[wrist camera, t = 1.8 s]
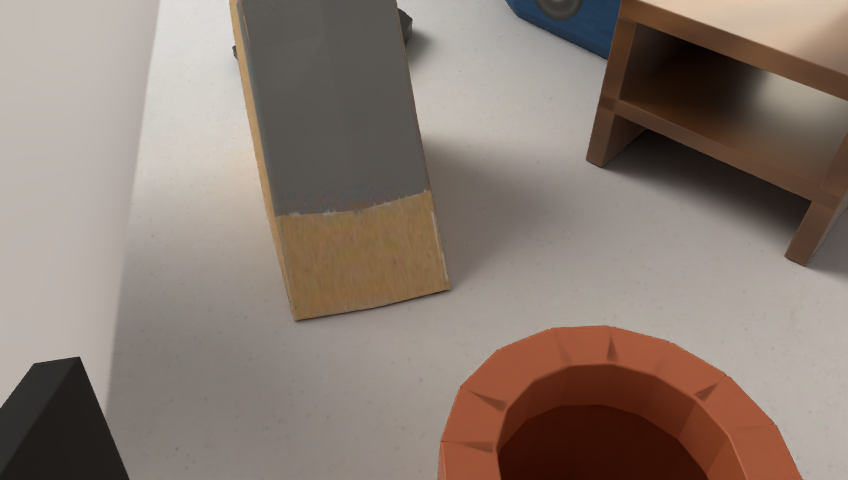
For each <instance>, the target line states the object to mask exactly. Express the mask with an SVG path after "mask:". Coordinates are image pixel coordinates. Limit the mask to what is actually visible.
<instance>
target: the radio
mask: <svg viewBox="0 0 848 480" xmlns="http://www.w3.org/2000/svg"><path fill="white" fill-rule="evenodd" d="M505 1H506V2H507V3H508V5H509V6H510V7H511V9H512V10H513V11H514V12H515V14H516V15H517V16H518V17H520V18H522V19H524V20H526V21H528V22H530V23H532V24H534V25H536V26H538V27H541V28H543V29H545V30H547V31H549V32H551V33H553V34H555V35H557V36H559V37H561V38H563V39H566V40H568V41H570V42H572V43H574V44H576V45H578V46H580V47H582V48H584V49H586V50H588V51H590V52H593V53H595V54H597V55H599V56H601V57H603V58H605V59H607V60H608V58H609V53H610V49H611V44H612V40H613V36H614V31H615V27H616V22H617V18H618V13H619V9H620V4H621V0H505Z"/></svg>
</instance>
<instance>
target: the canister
mask: <svg viewBox="0 0 848 480" xmlns="http://www.w3.org/2000/svg"><path fill="white" fill-rule="evenodd" d="M437 480H802V478H801V476H800V473H799V471H798V469H797V467H796V465H795V463H794V461H793V459H792V457H791V455H790V453H789V450H788V448H787V446H786V444H785V442H784V440H783V438H782V436H781V434H780V432H779V430H778V427H777V426H776V425H774V422H773V421H772V420H771V419H770V418H769V417H768V416H767V415H766V414H765V413H764V412H763V411H762V410H761V409H760V408H759V407H758V406H757V404H756V403H755V402H754V401H753V400H752V399H751V398H750V397H749V396H748V395H747V394H746V393H745V392H744V391H743V390H742V389H741V388H740V387H739V386H738V385H737V384H736V383H735V382H734V381H733V379H732V378H731V377H729V376H727V375H726V374H725V373H724V372H722V371H720V370H719V369H717V368H715V367H714V366H712V365H710V364H708V363H707V362H705V361H703V360H702V359H700V358H698V357H696V356H695V355H693V354H691V353H689V352H688V351H686V350H684V349H683V348H681V347H679V346H677V345H676V344H674V343H669V341H666V340H663V339H659V338H655V337H651V336H647V335H643V334H639V333H635V332H632V331H628V330H624V329H620V328H616V327H609V326H583V327H558V328H551V330H550V329H547V330H545V331H542V332H540V333H537V334H535V335H532V336H530V337H527V338H525V339H522V340H520V341H517V342H515V343H512V344H510V345H507V346H505V347H502V348H501V349H498V350H497V351H496V352H495V353H494V354H492V355H491V356H490V357H489V358H488V359H487V360H486V361H485V362H484V363H483V364H482V365H481V366H480V367H479V368H478V369H477V370H476V371H475V372H474V373H473V374H472V375H471V376H470V377H469V378H468V379H467V380H466V381H465V382H464V383H463V384H462V385H461V386H460V389H459V390H458V393H457V395H456V398H455V401H454V404H453V407H452V410H451V412H450V415H449V418H448V421H447V424H446V426H445V429H444V432H443V435H442V438H441V442H440V453H439V465H438V477H437Z"/></svg>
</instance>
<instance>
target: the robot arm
mask: <svg viewBox="0 0 848 480" xmlns="http://www.w3.org/2000/svg"><path fill="white" fill-rule="evenodd" d="M0 480H129V477H128V475H127V472H126V470H125V467H124V465H123V462H122V460H121V457H120V455H119V452H118V450H117V447H116V445H115V443H114V440H113V438H112V435H111V433H110V430H109V428H108V425H107V423H106V420H105V418H104V415H103V413H102V410H101V408H100V406H99V403H98V401H97V398H96V396H95V393H94V391H93V388H92V386H91V383H90V381H89V379H88V376H87V373H86V371H85V369H84V366H83V363H82V361H81V359H80V357H73V358H67V359H60V360H53V361H47V362H41V363H34V364H33V366H32V367H31V368H30V370H29V371H28V372H27V374H26V375H25V376H24V378H23V379H22V380H21V382H20V383H19V384H18V386H17V387H16V388H15V390H14V391H13V392H12V394H11V395H10V396H9V398H8V399H7V400H6V402H5V403H4V404H3V406H2V407H1V408H0Z"/></svg>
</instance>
